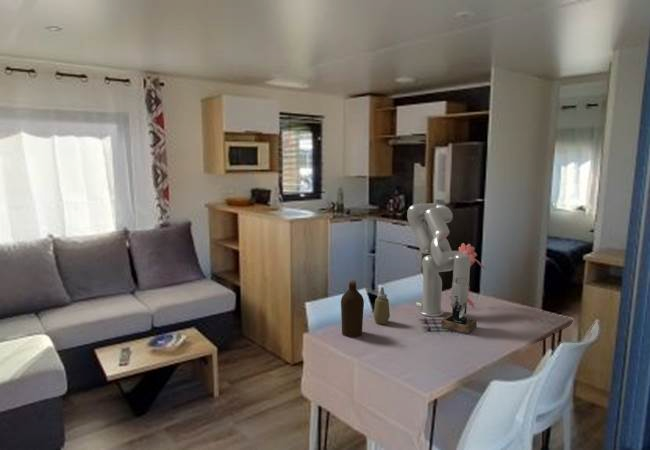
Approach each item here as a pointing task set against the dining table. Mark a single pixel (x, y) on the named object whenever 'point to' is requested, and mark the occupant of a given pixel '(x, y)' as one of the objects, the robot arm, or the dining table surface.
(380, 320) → the squeeze bottle
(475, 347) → the dining table surface
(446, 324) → the wooden tray
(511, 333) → the dining table surface
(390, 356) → the dining table surface
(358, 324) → the olive oil
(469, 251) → the figurine
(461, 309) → the watch
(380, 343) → the dining table surface
